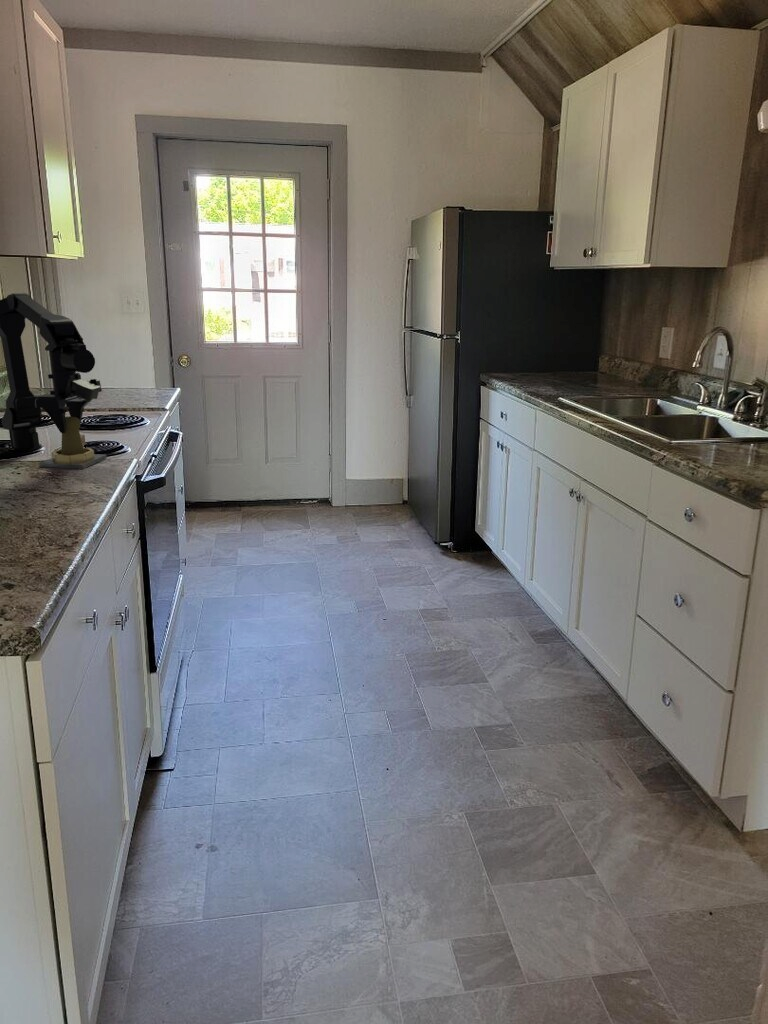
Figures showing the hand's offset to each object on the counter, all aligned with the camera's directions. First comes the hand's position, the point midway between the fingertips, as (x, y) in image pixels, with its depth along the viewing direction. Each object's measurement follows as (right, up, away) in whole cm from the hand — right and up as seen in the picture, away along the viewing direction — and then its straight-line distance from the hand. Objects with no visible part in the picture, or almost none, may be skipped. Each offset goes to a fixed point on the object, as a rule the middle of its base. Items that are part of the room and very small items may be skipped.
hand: (70, 430), depth 197 cm
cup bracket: (0, -8, +3) cm, 8 cm away
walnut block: (-6, -4, +17) cm, 18 cm away
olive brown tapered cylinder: (0, -7, +2) cm, 8 cm away
